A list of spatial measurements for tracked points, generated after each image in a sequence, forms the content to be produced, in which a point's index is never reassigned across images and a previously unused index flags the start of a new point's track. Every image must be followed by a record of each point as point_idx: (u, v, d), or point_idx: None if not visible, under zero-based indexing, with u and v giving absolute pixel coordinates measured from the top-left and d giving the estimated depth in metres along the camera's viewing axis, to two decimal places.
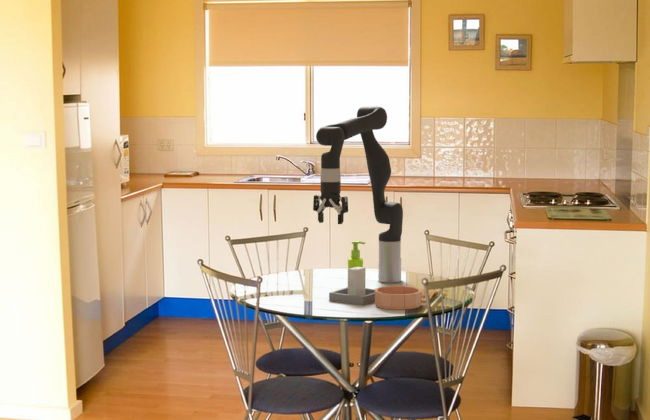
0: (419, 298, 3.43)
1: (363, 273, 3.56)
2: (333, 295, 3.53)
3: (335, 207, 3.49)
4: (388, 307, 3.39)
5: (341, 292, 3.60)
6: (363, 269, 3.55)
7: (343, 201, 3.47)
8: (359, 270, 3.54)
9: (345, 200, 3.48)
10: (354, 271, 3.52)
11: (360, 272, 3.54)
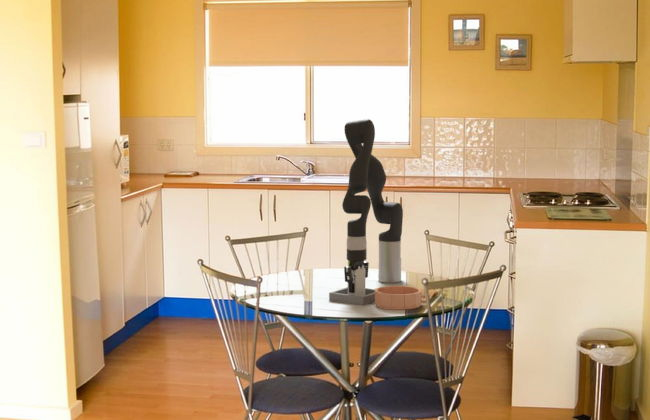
0: (419, 298, 3.43)
1: (363, 273, 3.56)
2: (333, 295, 3.53)
3: None
4: (388, 307, 3.39)
5: (341, 292, 3.60)
6: (363, 269, 3.55)
7: (367, 266, 3.60)
8: (359, 270, 3.54)
9: None
10: (354, 271, 3.52)
11: (360, 272, 3.54)
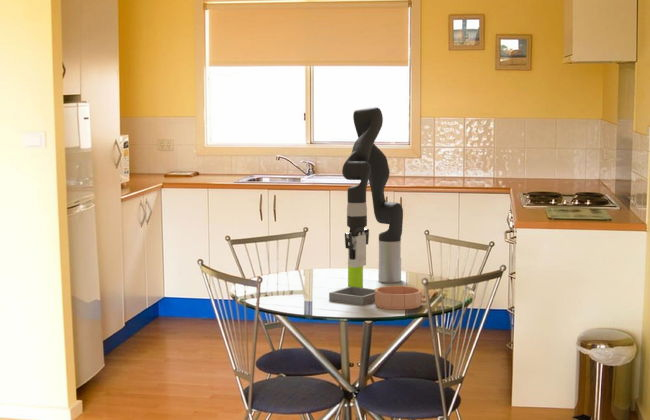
0: (419, 298, 3.43)
1: (364, 240, 3.54)
2: (333, 295, 3.53)
3: None
4: (388, 307, 3.39)
5: (341, 292, 3.60)
6: (364, 236, 3.54)
7: (368, 233, 3.59)
8: (360, 236, 3.52)
9: None
10: (355, 237, 3.51)
11: (360, 239, 3.52)
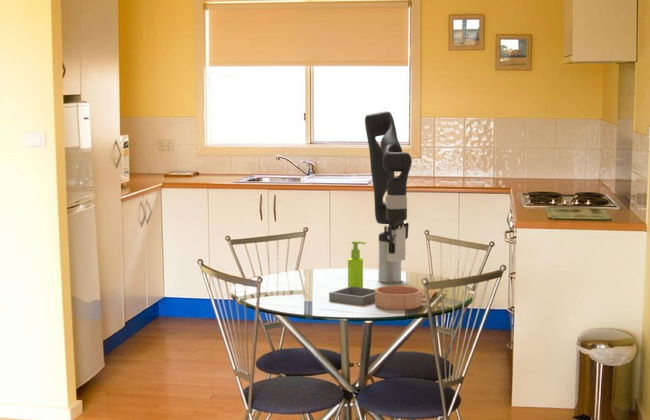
0: (419, 298, 3.43)
1: (403, 233, 3.44)
2: (333, 295, 3.53)
3: None
4: (388, 307, 3.39)
5: (341, 292, 3.60)
6: (403, 229, 3.44)
7: (407, 227, 3.48)
8: (399, 230, 3.42)
9: None
10: (394, 231, 3.41)
11: (400, 232, 3.42)
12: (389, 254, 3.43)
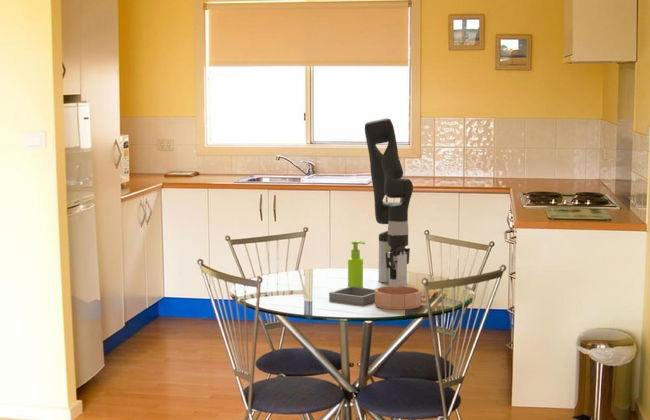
0: (419, 298, 3.43)
1: (405, 259, 3.45)
2: (333, 295, 3.53)
3: None
4: (388, 307, 3.39)
5: (341, 292, 3.60)
6: (405, 255, 3.45)
7: (409, 252, 3.49)
8: (401, 256, 3.43)
9: None
10: (396, 257, 3.42)
11: (401, 258, 3.43)
12: (390, 280, 3.44)
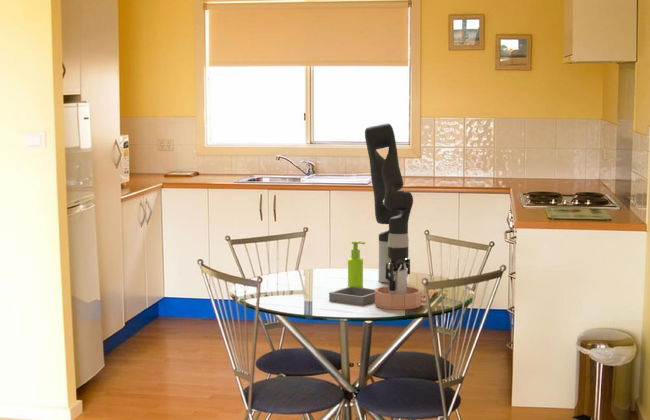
0: (419, 298, 3.43)
1: (404, 275, 3.45)
2: (333, 295, 3.53)
3: None
4: (388, 307, 3.39)
5: (341, 292, 3.60)
6: (404, 271, 3.45)
7: (409, 263, 3.50)
8: (401, 272, 3.43)
9: None
10: None
11: (401, 275, 3.44)
12: None
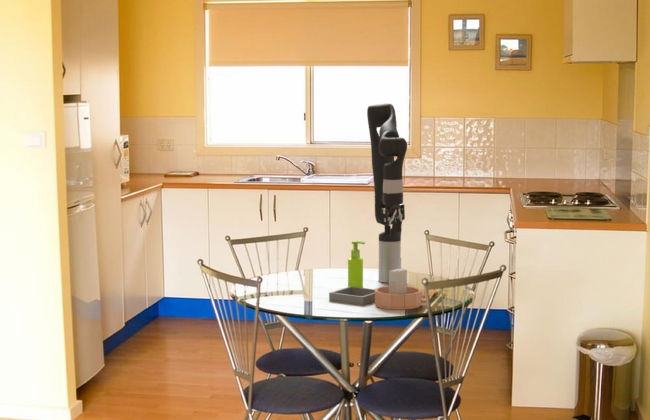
0: (419, 298, 3.43)
1: (404, 275, 3.45)
2: (333, 295, 3.53)
3: (401, 216, 3.54)
4: (388, 307, 3.39)
5: (341, 292, 3.60)
6: (405, 271, 3.45)
7: (403, 208, 3.56)
8: (401, 272, 3.43)
9: None
10: (396, 273, 3.42)
11: (401, 275, 3.44)
12: None
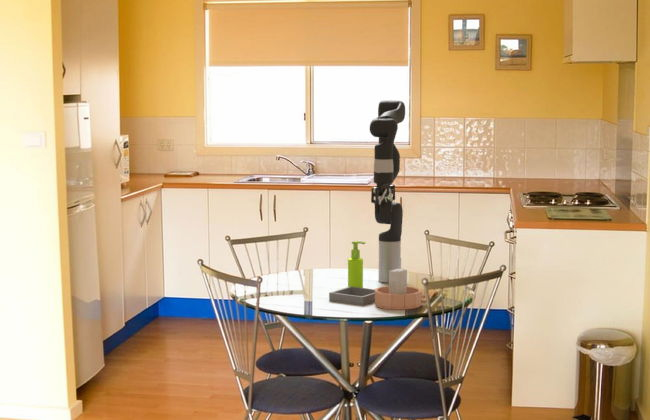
0: (419, 298, 3.43)
1: (404, 275, 3.45)
2: (333, 295, 3.53)
3: (391, 196, 3.63)
4: (388, 307, 3.39)
5: (341, 292, 3.60)
6: (405, 271, 3.45)
7: (394, 189, 3.66)
8: (401, 272, 3.43)
9: None
10: (396, 273, 3.42)
11: (401, 275, 3.44)
12: None
